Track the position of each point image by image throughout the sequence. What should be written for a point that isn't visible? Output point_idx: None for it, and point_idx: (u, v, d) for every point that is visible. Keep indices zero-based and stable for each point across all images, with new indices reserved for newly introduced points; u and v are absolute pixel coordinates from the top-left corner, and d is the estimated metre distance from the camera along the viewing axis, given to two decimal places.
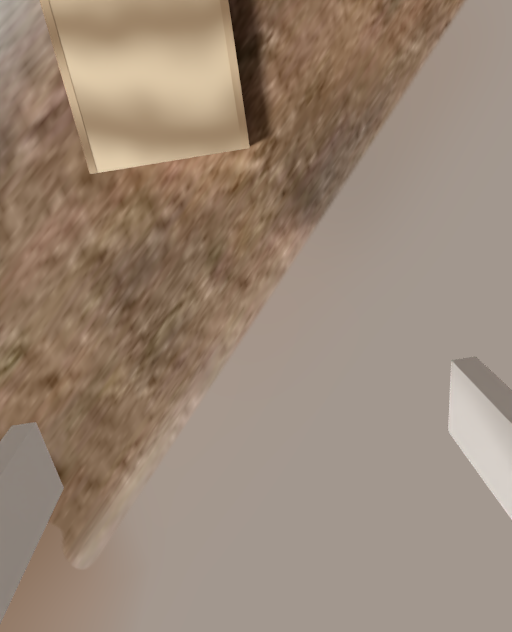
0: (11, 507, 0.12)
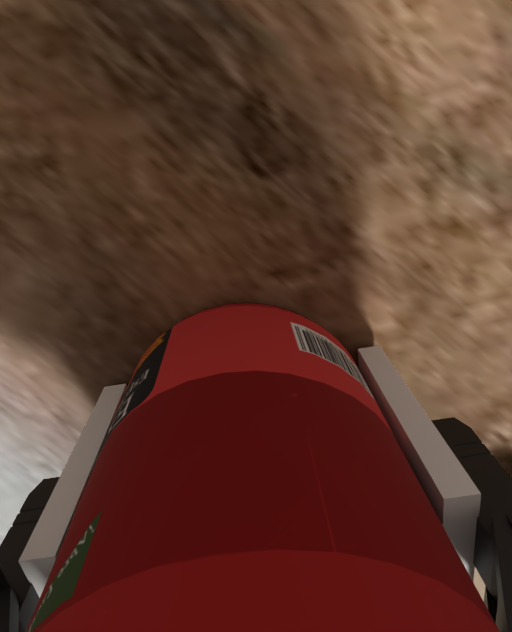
0: None
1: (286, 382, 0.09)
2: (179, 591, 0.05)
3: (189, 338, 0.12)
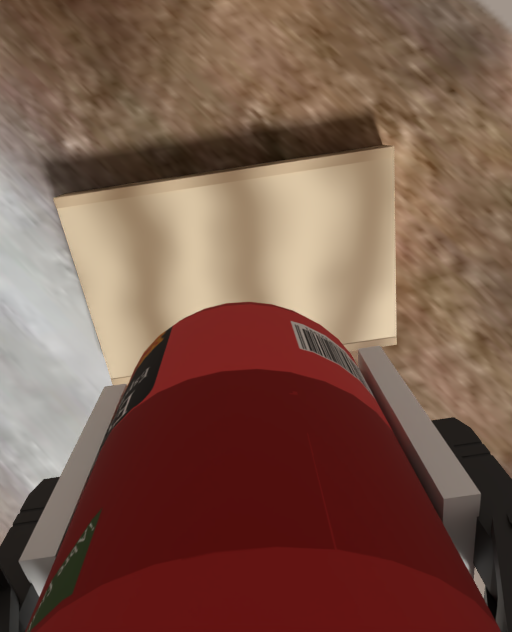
0: None
1: (286, 380, 0.09)
2: (179, 588, 0.05)
3: (189, 336, 0.12)
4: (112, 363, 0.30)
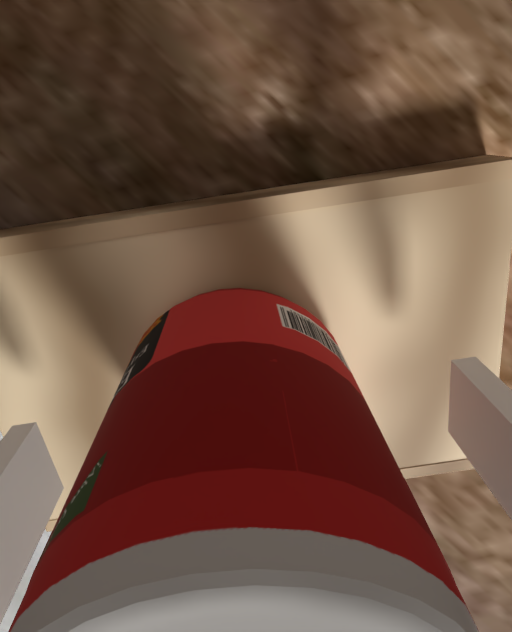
0: (11, 507, 0.12)
1: (267, 350, 0.11)
2: (170, 497, 0.06)
3: (184, 316, 0.13)
4: None
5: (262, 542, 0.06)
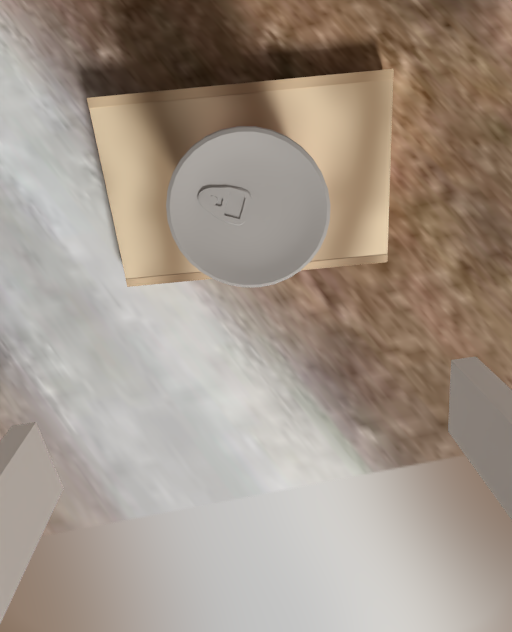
0: (11, 507, 0.12)
1: None
2: None
3: None
4: (128, 263, 0.33)
5: (257, 127, 0.20)
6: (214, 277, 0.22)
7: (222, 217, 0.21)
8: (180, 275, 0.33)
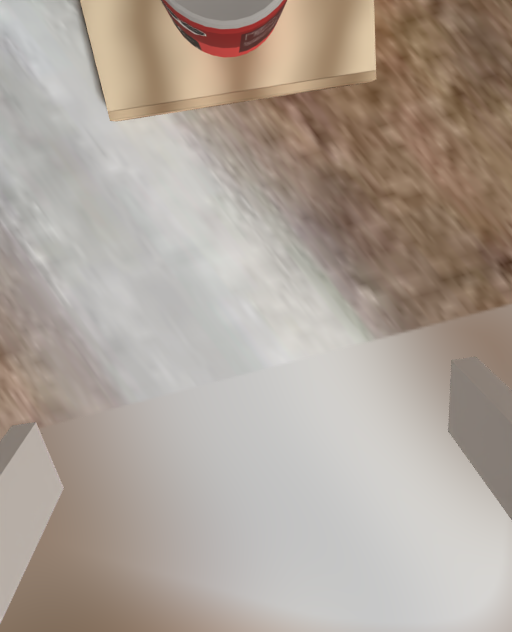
0: (11, 507, 0.12)
1: None
2: None
3: None
4: (109, 93, 0.32)
5: None
6: (189, 12, 0.21)
7: None
8: (163, 105, 0.32)
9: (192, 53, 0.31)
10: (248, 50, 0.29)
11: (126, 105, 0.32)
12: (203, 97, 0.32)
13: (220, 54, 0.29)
